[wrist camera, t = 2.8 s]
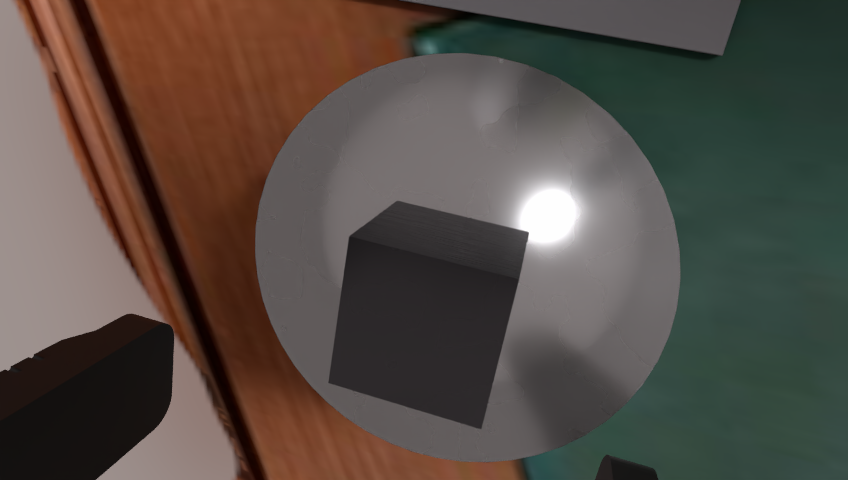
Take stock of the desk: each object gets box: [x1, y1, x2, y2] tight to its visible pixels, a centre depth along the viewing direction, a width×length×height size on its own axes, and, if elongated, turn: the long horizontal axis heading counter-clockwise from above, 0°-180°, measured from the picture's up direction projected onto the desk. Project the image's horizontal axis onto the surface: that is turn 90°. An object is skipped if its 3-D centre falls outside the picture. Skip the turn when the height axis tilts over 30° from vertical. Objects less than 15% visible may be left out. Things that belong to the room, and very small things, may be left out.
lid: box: [255, 53, 680, 462], centre depth 15 cm, size 13×13×5 cm
